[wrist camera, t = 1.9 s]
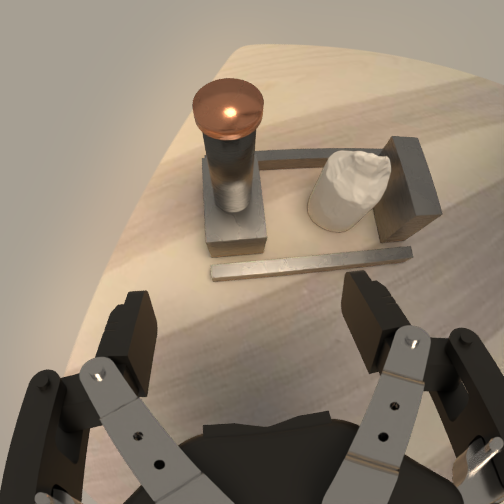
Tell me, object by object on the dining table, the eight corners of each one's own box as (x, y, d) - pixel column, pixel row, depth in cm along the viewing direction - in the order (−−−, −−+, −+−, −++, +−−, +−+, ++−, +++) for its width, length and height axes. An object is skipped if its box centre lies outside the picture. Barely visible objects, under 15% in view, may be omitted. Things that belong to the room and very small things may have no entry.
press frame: (382, 157, 35) (409, 118, 27) (408, 261, 32) (449, 239, 24) (206, 165, 34) (198, 119, 26) (213, 281, 31) (203, 262, 23)
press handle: (254, 179, 33) (265, 54, 17) (263, 252, 31) (285, 160, 15) (207, 183, 33) (183, 60, 17) (211, 257, 31) (180, 168, 15)
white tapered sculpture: (393, 117, 22) (421, 177, 21) (351, 182, 34) (367, 229, 33) (327, 120, 22) (352, 186, 21) (300, 189, 34) (314, 239, 32)
